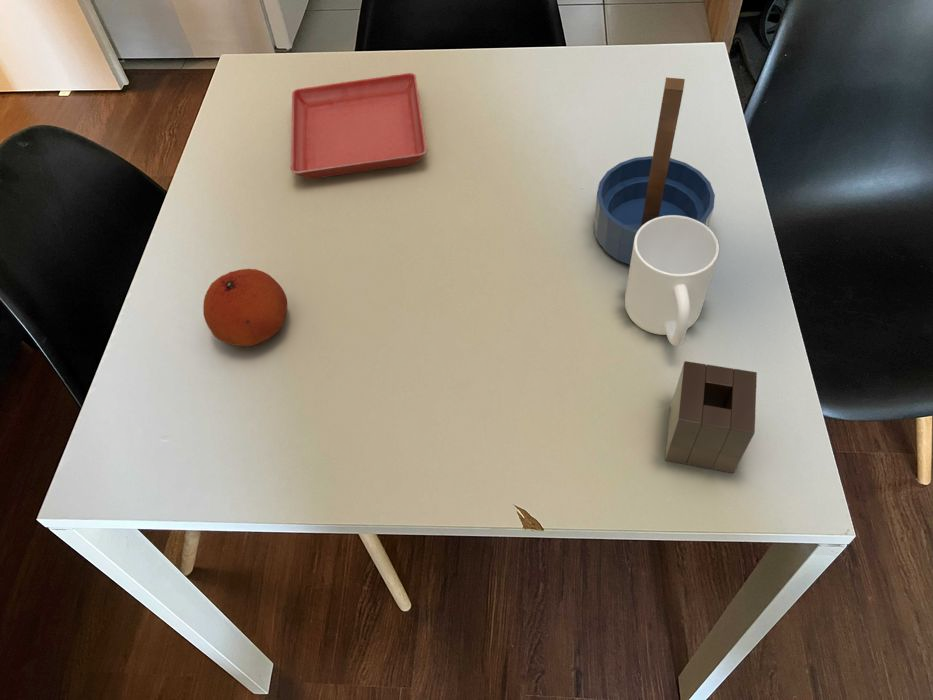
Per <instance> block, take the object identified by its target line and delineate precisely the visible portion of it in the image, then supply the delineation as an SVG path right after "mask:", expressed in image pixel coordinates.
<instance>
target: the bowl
mask: <svg viewBox="0 0 933 700" xmlns="http://www.w3.org/2000/svg"><path fill="white" fill-rule="evenodd" d="M652 158H653V155H649V156H648V155H647V156H639V157H633V158H630V159H627V160H624V161H621V162H618V164H616V165H614V166H613V167H611V168H609V170H607V171H606V173H605V174H604V175H603V177H602V178H601V179H600V181H599V183H598V187H597V191H596V197H595V198H596V199H595V209H594V221H593V229H594V234H595V238H596V241H597V242H598V243H599V245H600V246H601V247H602V249H603V250H604V252H606V253H607V254H608V255H610V256H611V257H613V259H615V260H617V261H618V262H622V263H624V264H627V265H629V266H630V263H631V257H632V251H633V245H634V238H635V235H636V233H637V231H638V230H639V229H640V228H641V223H642V217H643V211H644V205H645V199H646V193H647V187H648V181H649V175H650V170H651V164H652ZM715 197H716V193H715V192H714V189H713V187H712V183H711V182H710V181H709V180H708V178H707V177H706V176H705V175H704V174H703V173H702V171H700V170H698V169H697V168H696V167H694V166H692V165H690V164H689V163H687V162H685V161H681V160H678V159H676V158H672V157H670V161H669V166H668V171H667V177H666V182H665V187H664V192H663V197H662V202H661V207H660V213H659V217H661V216H668V215H678V216H685V217H689V218H692V219H695V220H697V221H699V222H701V223H703V224H704V225H706V226H707V227H708V228H709V226H710V222H711V219H712V215H713V212H714V209H715Z"/></svg>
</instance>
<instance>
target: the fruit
mask: <svg viewBox="0 0 933 700" xmlns="http://www.w3.org/2000/svg"><path fill="white" fill-rule="evenodd" d="M202 309H203V310H202V311H203V317H204V322H205V324H206V326H207V327H208V329H209V330H210V332H211V334H212V336H214V337H215V338H216V339H217V340H219V341H221V342H223V343H226V344H229V345H232V346H241V347H249V346H250V347H251V346H255V345H258V344H260V343H262V342H264V341H267V340H269V339H271V338H272V337H273V336H274V335H275V334H276V333H277V332H278V331H280V329H281V328H282V326H283V324H284V322H285V320H286V317H287V312H288V299H287V294H286V293H285V291H284V288H283V286H281V285H280V284H279V283H278V281H277V280H276V279H274V277H272V276H271V275H270V274H268V273H267V272H264V271H262V270H258V269H256V268H242V269H237V270H233V271H229V272H227V273H225V274H223V275H221V276H219V277H217V278H216V279H215V280H214V281H213V282H212V283H211V284H210V285H209V287H208V289H207V290H206V294H204V299H203V307H202Z"/></svg>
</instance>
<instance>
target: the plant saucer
mask: <svg viewBox="0 0 933 700" xmlns="http://www.w3.org/2000/svg"><path fill="white" fill-rule="evenodd" d="M420 101H421V100H420V95H419V88H418V79H417V75H416V74H415V73H413V72H407V73H400V74H392V75H391V74H390V75H386V76H385V75H384V76H379V77H371V78H364V79H357V80H350V81H343V82H336V83H329V84H323V85H316V86H309V87H302V88H296V89H294V90H293V91H292V93H291V127H290V128H291V130H290V131H291V135H290V139H291V140H290V171H291V173H292V174H294V175H296V176H299V177H301V178H302V177H303V178H308V179H320V178H327V177H333V176H340V175H347V174H353V173H355V174H356V173H360V172H368V171H374V170H382V169H388V168H396V167H402V166H410V165H413V164H415V163H417V162H418V161H419V160H421V159H423V157H425V155H426V154H427V152H428V148H427V142H426V135H425V128H424V122H423V115H422V114H423V113H422V108H421V102H420Z"/></svg>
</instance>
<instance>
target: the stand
mask: <svg viewBox="0 0 933 700" xmlns="http://www.w3.org/2000/svg"><path fill="white" fill-rule="evenodd" d="M757 375H758V374H757V371H751V370H745V369H739V368H738V369H737V368H732V367H731V368H730V367H726V366H725V367H724V366H719V365H712V364H705V363H700V362H695V361H694V362H693V361H688V360H687V361H686V360H684V362H683V364H682V368H681V370H680V374H679V378H678V380H677V384H676V387H675V390H674V394H673V398H672V400H671V404H670V409H669V410H670V411H669V421H668V429H667V438H666V448H665V457H664V460H665V461H666V462H672V463H677V464H682V465H687V466H692V467H693V466H694V467H699V468H704V469H709V470H715V471H719V472H724V473H729V474H734V473H735V471H736V470H737V467H738V465H739V463H740V462H741V460H742V458H743V456H744V454H745V453H746V451H747V449H748V447H749V444H750V443H751V441H752V439H753V437H754V435H755V433H756V404H757V377H758V376H757Z"/></svg>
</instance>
